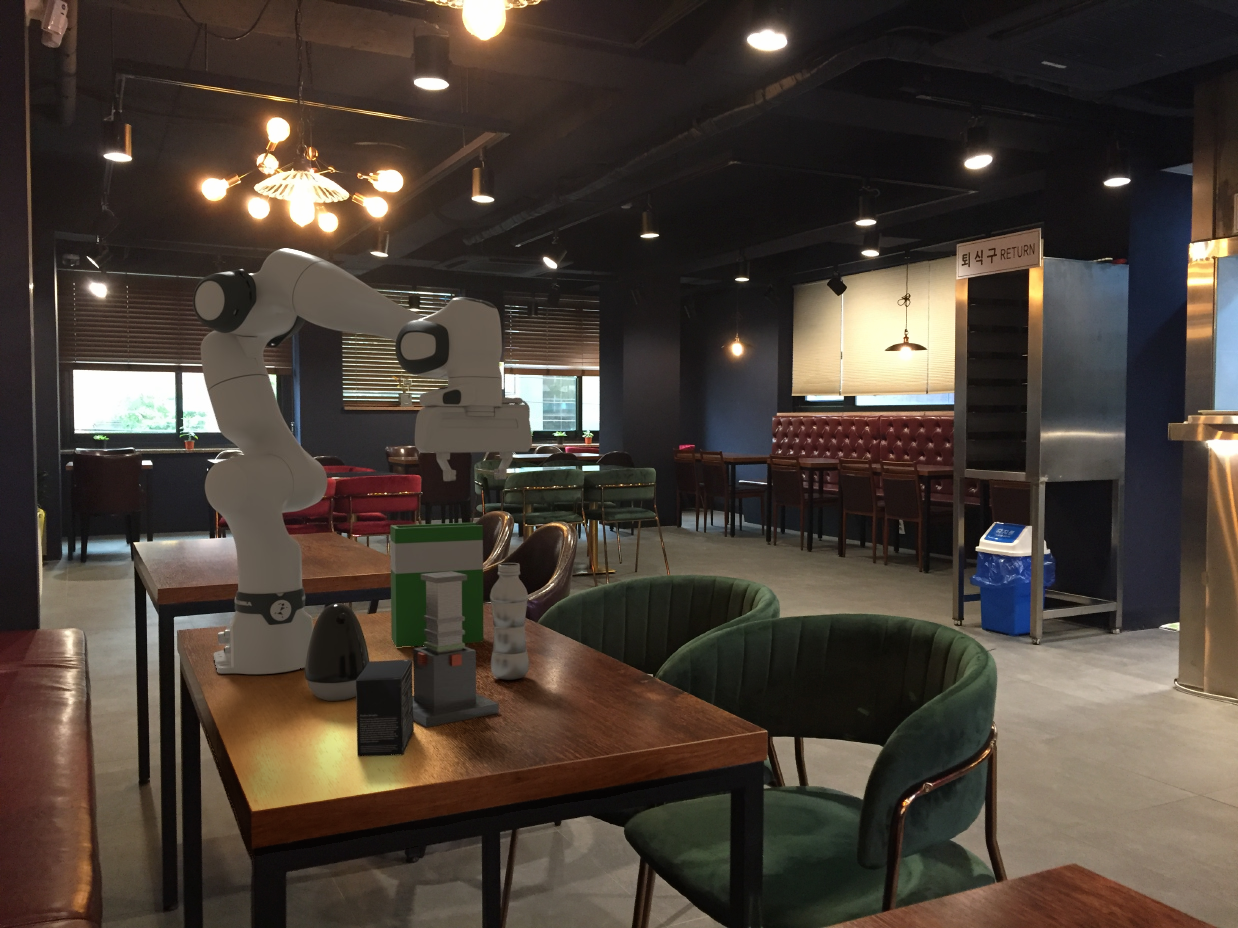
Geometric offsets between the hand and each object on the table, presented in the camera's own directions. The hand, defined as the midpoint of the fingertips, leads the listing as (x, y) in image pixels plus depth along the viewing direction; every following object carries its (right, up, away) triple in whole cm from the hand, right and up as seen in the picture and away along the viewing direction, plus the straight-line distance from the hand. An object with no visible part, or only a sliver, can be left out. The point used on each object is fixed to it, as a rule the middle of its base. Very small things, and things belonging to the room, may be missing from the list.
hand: (475, 480), depth 159 cm
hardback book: (-14, -34, +40) cm, 54 cm away
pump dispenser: (-22, -35, -3) cm, 42 cm away
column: (-3, -29, -11) cm, 31 cm away
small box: (-8, -36, -27) cm, 46 cm away
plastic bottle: (+5, -35, +8) cm, 36 cm away
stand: (-3, -35, -11) cm, 37 cm away
